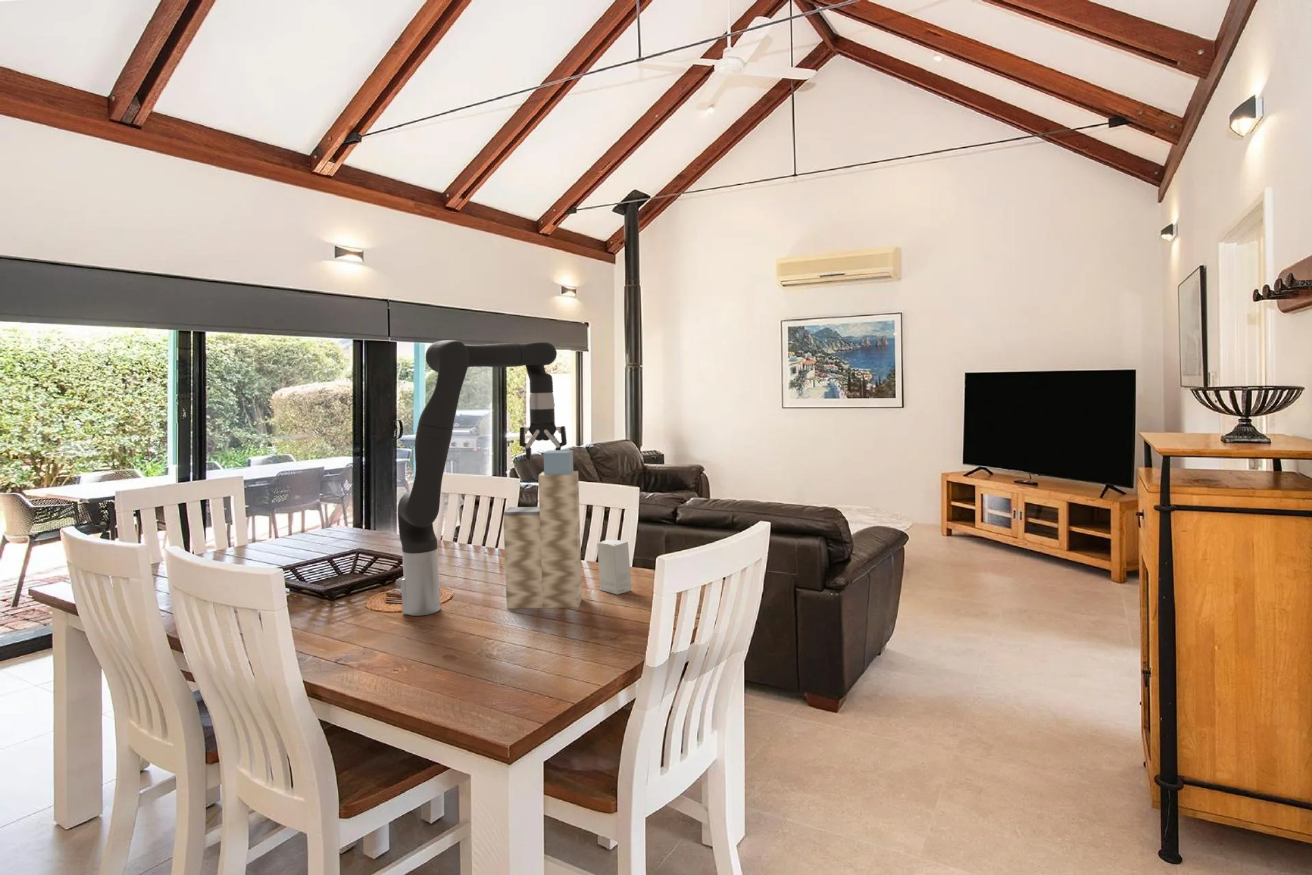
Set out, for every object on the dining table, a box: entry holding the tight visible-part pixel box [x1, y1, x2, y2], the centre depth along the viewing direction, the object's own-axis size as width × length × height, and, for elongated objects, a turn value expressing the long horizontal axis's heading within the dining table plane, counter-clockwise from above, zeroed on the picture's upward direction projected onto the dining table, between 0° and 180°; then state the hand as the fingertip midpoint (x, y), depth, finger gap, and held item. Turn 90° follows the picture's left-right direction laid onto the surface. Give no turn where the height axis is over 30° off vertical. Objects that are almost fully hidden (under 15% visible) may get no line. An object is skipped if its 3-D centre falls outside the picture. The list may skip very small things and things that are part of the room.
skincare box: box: [596, 538, 632, 595], centre depth 216 cm, size 8×6×15 cm
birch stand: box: [502, 470, 583, 610], centre depth 203 cm, size 20×8×37 cm, turn 90°
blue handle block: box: [543, 449, 574, 475], centre depth 206 cm, size 7×16×6 cm, turn 178°
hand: (543, 460), depth 225 cm, fingers open, 8 cm apart
